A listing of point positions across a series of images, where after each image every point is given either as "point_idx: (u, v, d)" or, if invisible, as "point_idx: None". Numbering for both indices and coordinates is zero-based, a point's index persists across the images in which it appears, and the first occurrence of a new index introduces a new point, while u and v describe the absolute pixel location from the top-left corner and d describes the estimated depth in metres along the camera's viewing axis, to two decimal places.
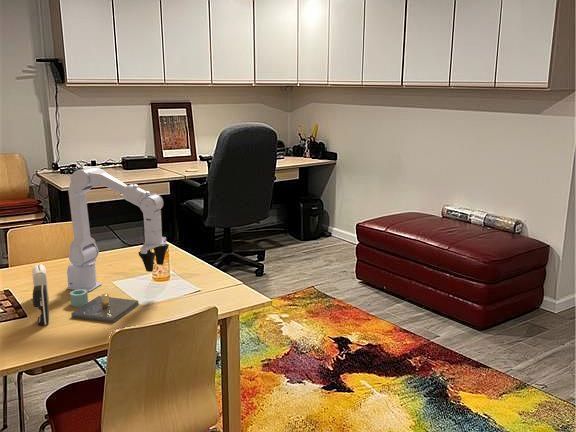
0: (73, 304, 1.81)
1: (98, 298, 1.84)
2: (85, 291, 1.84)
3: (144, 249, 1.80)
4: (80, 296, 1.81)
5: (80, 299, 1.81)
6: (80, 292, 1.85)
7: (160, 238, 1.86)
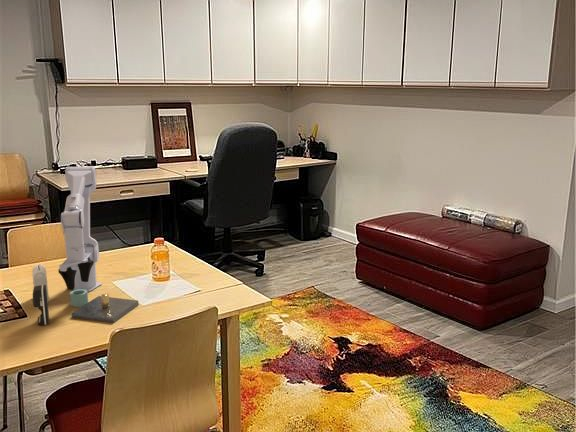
0: (73, 304, 1.81)
1: (98, 298, 1.84)
2: (85, 291, 1.84)
3: (63, 266, 1.73)
4: (80, 296, 1.81)
5: (80, 299, 1.81)
6: (80, 292, 1.85)
7: (82, 255, 1.79)
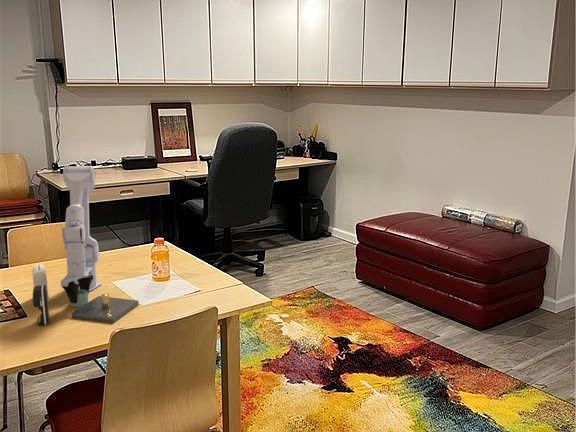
0: (73, 304, 1.81)
1: (98, 298, 1.84)
2: (85, 291, 1.84)
3: (64, 282, 1.74)
4: (80, 296, 1.81)
5: (80, 299, 1.81)
6: (80, 292, 1.85)
7: (83, 269, 1.80)
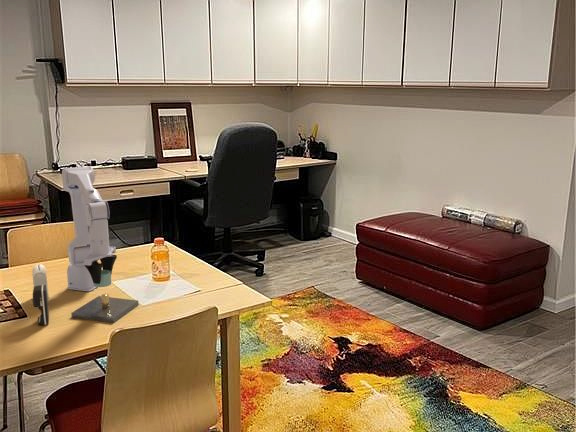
0: (96, 284, 1.74)
1: (98, 298, 1.84)
2: (108, 271, 1.76)
3: (88, 260, 1.67)
4: (103, 276, 1.73)
5: (103, 279, 1.73)
6: (103, 272, 1.77)
7: (107, 248, 1.72)
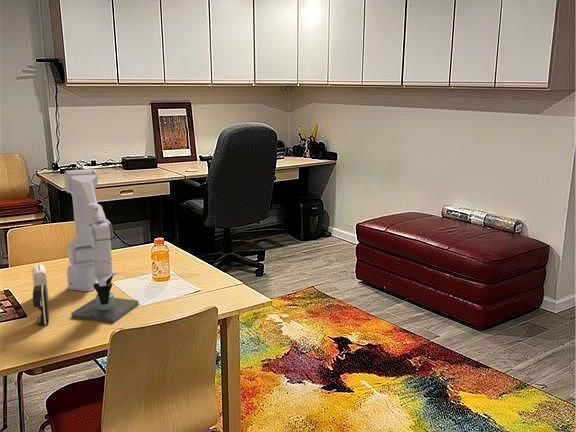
0: (103, 307, 1.75)
1: None
2: (110, 293, 1.78)
3: (103, 281, 1.68)
4: (111, 298, 1.76)
5: (111, 301, 1.76)
6: None
7: None
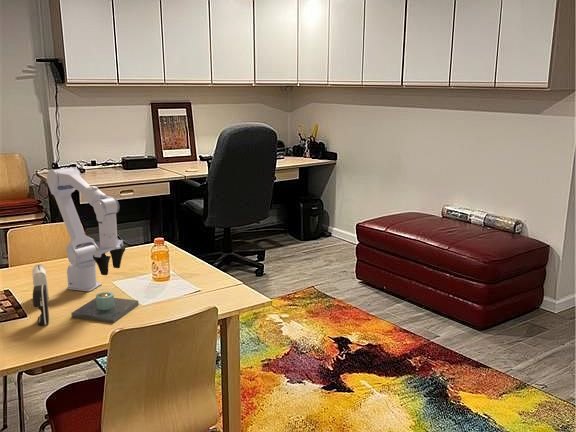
0: (103, 307, 1.75)
1: None
2: (110, 293, 1.78)
3: (98, 252, 1.79)
4: (111, 298, 1.76)
5: (111, 301, 1.76)
6: None
7: (115, 241, 1.84)
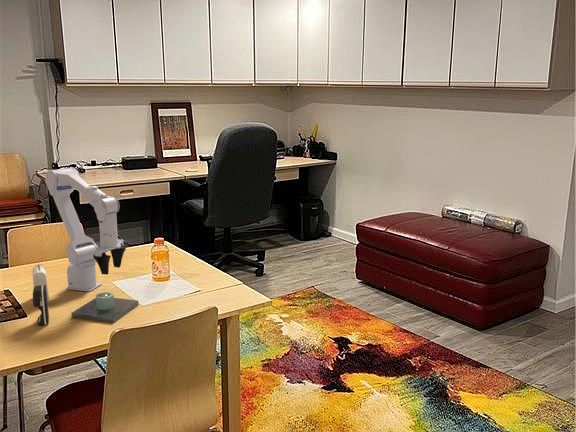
0: (103, 307, 1.75)
1: None
2: (110, 293, 1.78)
3: (98, 252, 1.79)
4: (111, 298, 1.76)
5: (111, 301, 1.76)
6: None
7: (116, 241, 1.85)
